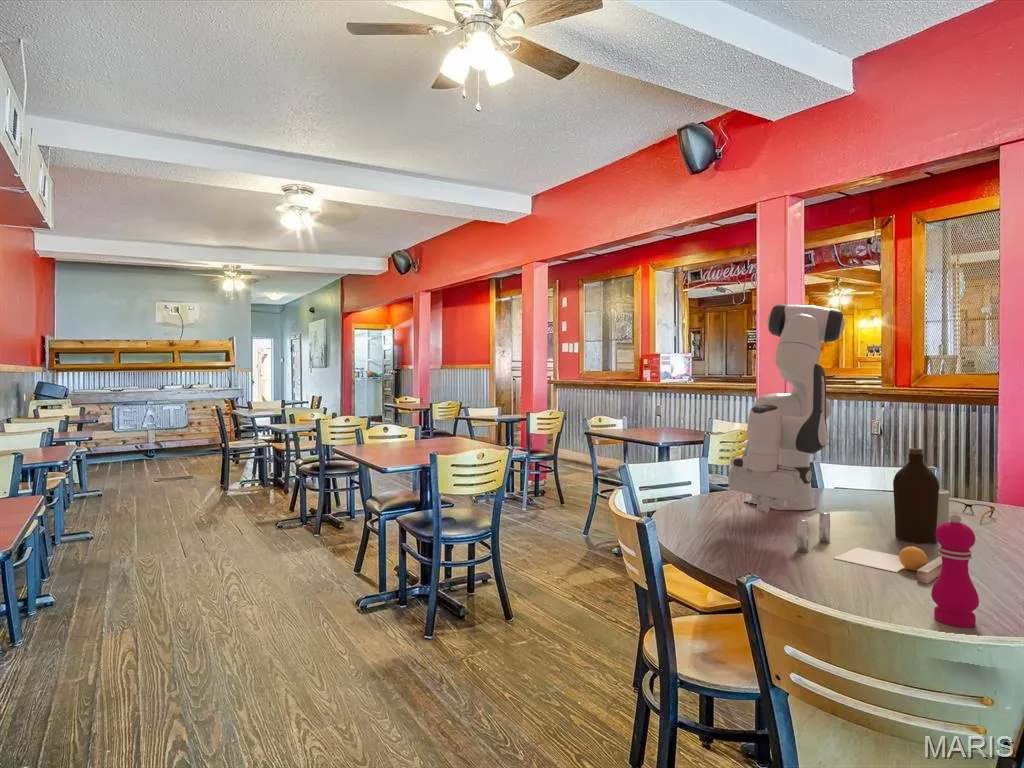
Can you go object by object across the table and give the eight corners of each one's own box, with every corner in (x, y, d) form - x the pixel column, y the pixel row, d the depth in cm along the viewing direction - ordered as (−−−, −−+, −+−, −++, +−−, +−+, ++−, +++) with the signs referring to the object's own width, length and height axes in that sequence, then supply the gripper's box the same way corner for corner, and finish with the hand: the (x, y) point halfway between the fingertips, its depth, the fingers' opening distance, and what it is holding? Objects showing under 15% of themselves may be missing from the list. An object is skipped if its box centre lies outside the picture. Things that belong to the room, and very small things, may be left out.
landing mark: (833, 558, 152) (833, 558, 152) (857, 548, 161) (857, 547, 161) (896, 572, 141) (896, 571, 141) (918, 560, 150) (918, 559, 150)
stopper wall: (916, 581, 136) (917, 570, 136) (946, 562, 148) (946, 552, 148) (927, 583, 134) (927, 572, 134) (956, 564, 147) (956, 554, 147)
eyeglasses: (996, 518, 193) (996, 506, 193) (980, 526, 185) (980, 512, 185) (943, 510, 205) (943, 499, 205) (926, 517, 196) (926, 504, 196)
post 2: (817, 542, 167) (817, 512, 167) (821, 540, 169) (821, 511, 168) (827, 544, 165) (827, 514, 165) (831, 542, 167) (831, 513, 166)
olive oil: (923, 546, 162) (924, 452, 161) (884, 537, 171) (884, 448, 171) (947, 541, 167) (948, 449, 166) (907, 532, 176) (908, 445, 176)
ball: (895, 547, 143) (922, 554, 139) (905, 540, 146) (932, 547, 142) (894, 569, 144) (920, 577, 140) (904, 562, 147) (930, 570, 143)
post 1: (795, 550, 159) (795, 520, 159) (800, 549, 161) (800, 518, 160) (805, 553, 157) (805, 522, 157) (810, 551, 159) (810, 520, 158)
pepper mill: (931, 610, 119) (931, 508, 119) (977, 618, 115) (978, 512, 115) (930, 623, 113) (931, 515, 113) (980, 632, 109) (980, 520, 109)
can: (955, 534, 174) (956, 492, 174) (919, 532, 176) (919, 491, 175) (940, 526, 183) (940, 486, 183) (905, 525, 185) (906, 485, 184)
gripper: (805, 466, 167) (804, 516, 168) (737, 456, 183) (737, 502, 184) (793, 469, 163) (793, 520, 164) (725, 459, 179) (725, 506, 180)
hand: (762, 511), depth 174 cm, fingers closed
